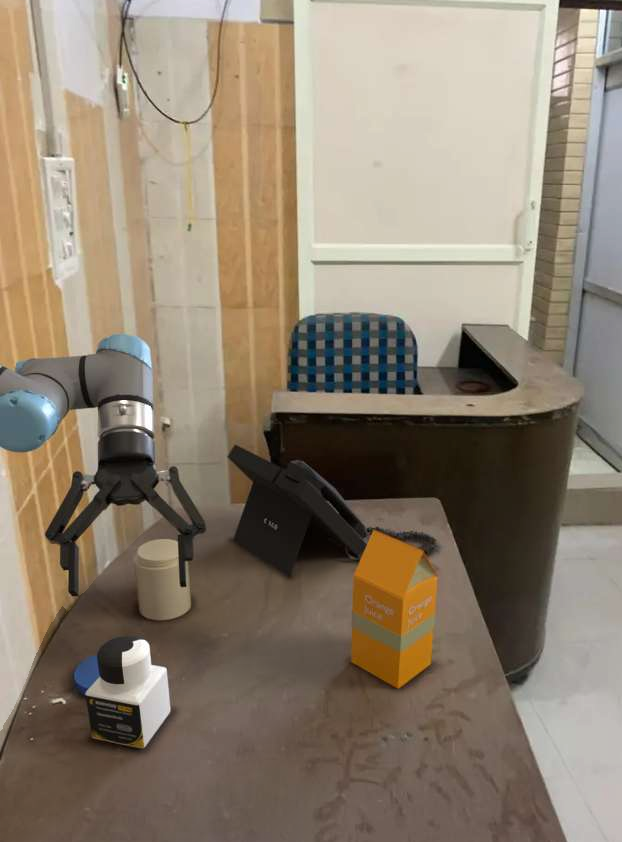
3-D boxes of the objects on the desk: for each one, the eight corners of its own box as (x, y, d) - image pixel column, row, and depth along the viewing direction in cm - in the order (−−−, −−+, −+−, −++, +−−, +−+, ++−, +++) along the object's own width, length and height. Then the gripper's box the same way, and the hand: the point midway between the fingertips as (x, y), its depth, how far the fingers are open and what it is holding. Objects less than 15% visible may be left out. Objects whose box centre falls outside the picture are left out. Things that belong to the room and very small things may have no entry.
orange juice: (397, 689, 104) (405, 561, 95) (349, 661, 109) (353, 538, 101) (432, 663, 109) (441, 540, 101) (384, 638, 114) (390, 519, 106)
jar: (137, 622, 116) (130, 564, 112) (140, 594, 123) (134, 539, 119) (191, 617, 117) (186, 560, 113) (191, 590, 125) (187, 535, 120)
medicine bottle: (90, 739, 93) (78, 658, 88) (121, 701, 99) (111, 624, 95) (144, 750, 92) (134, 669, 87) (171, 711, 98) (164, 634, 93)
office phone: (445, 549, 141) (453, 447, 132) (325, 601, 123) (326, 488, 115) (343, 497, 160) (344, 405, 152) (227, 536, 142) (222, 434, 134)
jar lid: (150, 664, 107) (150, 655, 106) (120, 703, 99) (119, 694, 98) (96, 655, 108) (95, 646, 108) (62, 692, 101) (60, 683, 100)
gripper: (23, 432, 100) (18, 590, 92) (217, 424, 105) (226, 573, 98) (36, 455, 107) (32, 604, 99) (218, 446, 112) (227, 587, 104)
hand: (129, 589), depth 98 cm, fingers open, 13 cm apart
